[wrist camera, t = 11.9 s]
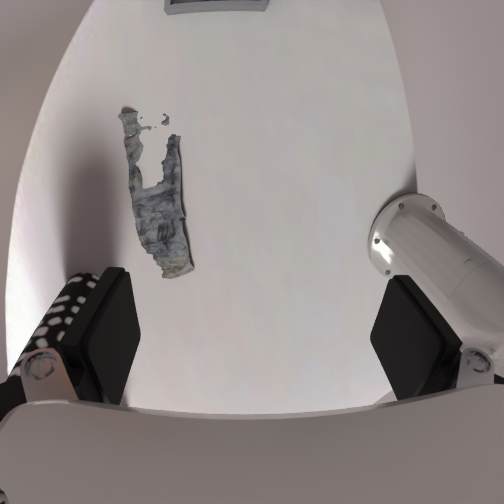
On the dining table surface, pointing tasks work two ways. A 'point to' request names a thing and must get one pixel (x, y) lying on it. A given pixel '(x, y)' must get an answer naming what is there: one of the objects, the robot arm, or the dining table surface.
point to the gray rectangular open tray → (212, 6)
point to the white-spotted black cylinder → (58, 316)
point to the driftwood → (158, 203)
